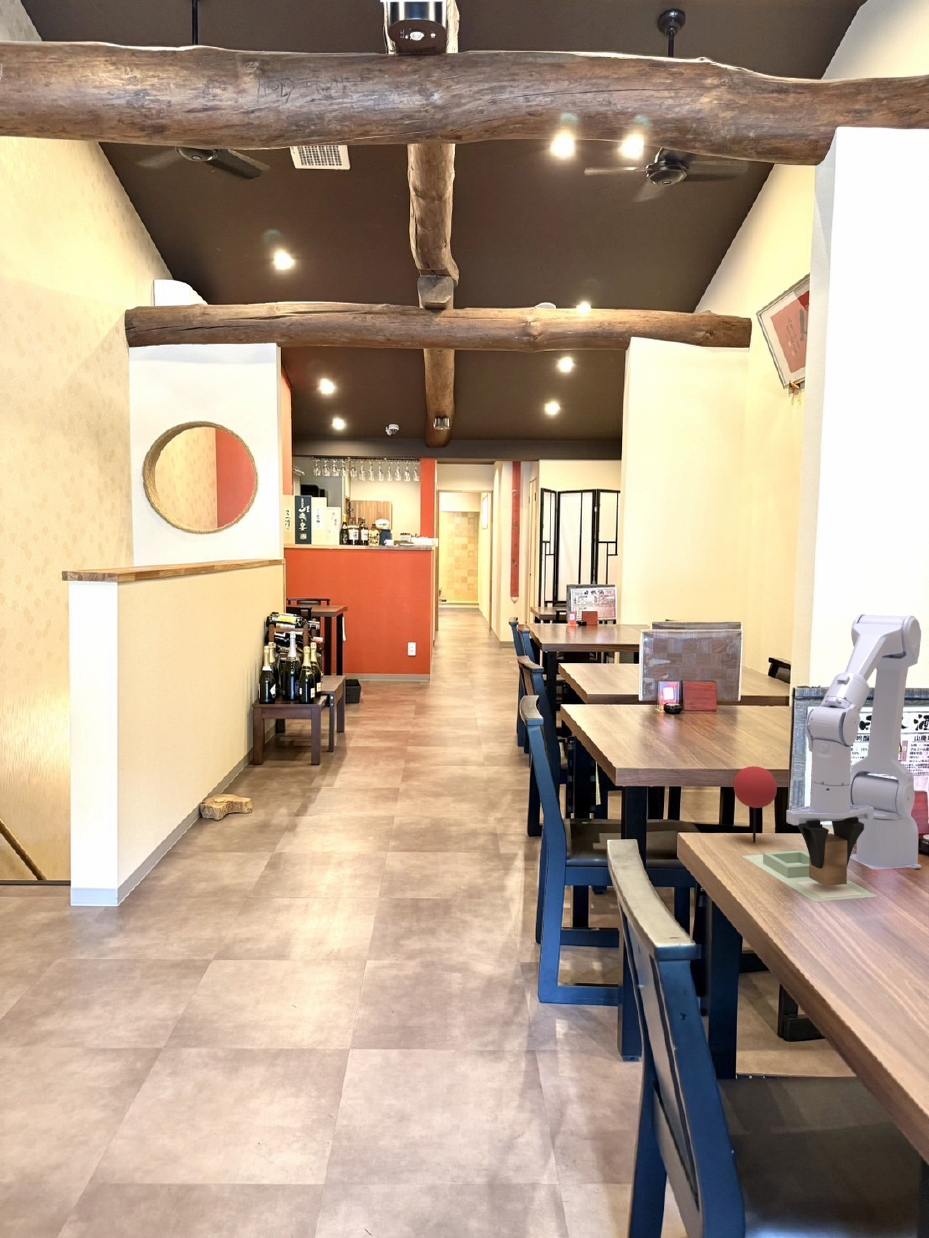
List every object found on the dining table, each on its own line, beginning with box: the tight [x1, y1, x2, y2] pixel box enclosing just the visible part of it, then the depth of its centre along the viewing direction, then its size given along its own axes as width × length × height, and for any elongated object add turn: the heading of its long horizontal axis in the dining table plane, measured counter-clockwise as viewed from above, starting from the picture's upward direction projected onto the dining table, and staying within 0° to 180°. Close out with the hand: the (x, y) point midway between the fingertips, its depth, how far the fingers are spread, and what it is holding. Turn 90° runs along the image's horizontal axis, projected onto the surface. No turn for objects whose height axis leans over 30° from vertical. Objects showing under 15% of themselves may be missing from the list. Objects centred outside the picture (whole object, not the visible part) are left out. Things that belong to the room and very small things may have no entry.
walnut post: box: [809, 833, 848, 886], centre depth 136 cm, size 4×4×7 cm
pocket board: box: [741, 849, 879, 903], centre depth 142 cm, size 11×22×2 cm, turn 11°
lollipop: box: [733, 765, 778, 844], centre depth 159 cm, size 8×8×15 cm
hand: (829, 865), depth 135 cm, fingers closed on walnut post, 4 cm apart
